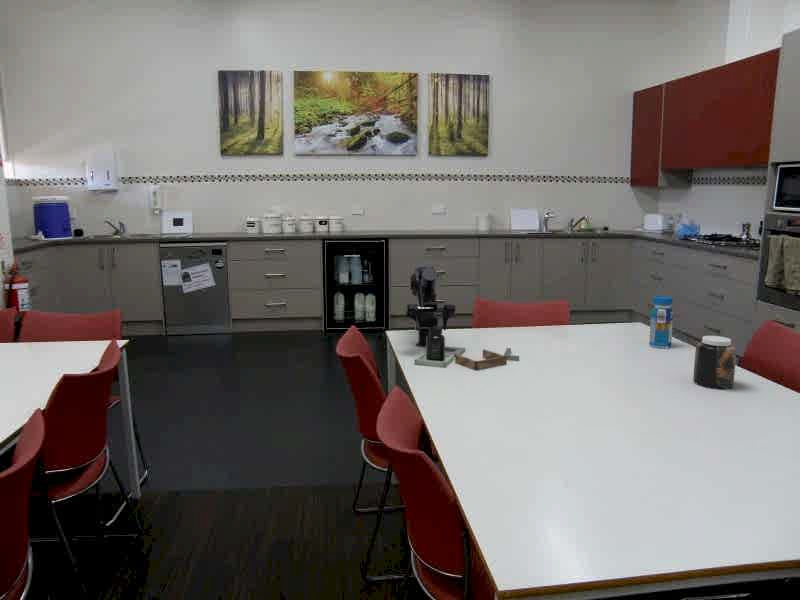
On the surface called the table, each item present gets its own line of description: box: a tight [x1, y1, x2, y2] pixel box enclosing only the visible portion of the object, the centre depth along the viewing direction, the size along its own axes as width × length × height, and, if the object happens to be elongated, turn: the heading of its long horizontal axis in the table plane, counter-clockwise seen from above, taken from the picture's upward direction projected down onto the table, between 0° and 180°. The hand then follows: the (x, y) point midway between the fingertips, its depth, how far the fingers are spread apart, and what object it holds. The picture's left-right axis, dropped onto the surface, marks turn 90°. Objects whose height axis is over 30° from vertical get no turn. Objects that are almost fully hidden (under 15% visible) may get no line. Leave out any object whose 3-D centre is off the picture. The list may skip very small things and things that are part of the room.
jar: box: [692, 335, 737, 389], centre depth 207 cm, size 12×12×15 cm
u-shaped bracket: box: [454, 349, 508, 371], centre depth 233 cm, size 12×14×3 cm
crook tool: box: [503, 347, 520, 362], centre depth 243 cm, size 12×6×2 cm, turn 165°
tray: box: [414, 351, 455, 368], centre depth 236 cm, size 12×12×2 cm
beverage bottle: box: [648, 295, 674, 349], centre depth 255 cm, size 8×8×20 cm
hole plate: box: [445, 345, 467, 356], centre depth 248 cm, size 10×10×1 cm
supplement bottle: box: [425, 326, 446, 361], centre depth 234 cm, size 7×7×12 cm
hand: (432, 329), depth 242 cm, fingers open, 9 cm apart
